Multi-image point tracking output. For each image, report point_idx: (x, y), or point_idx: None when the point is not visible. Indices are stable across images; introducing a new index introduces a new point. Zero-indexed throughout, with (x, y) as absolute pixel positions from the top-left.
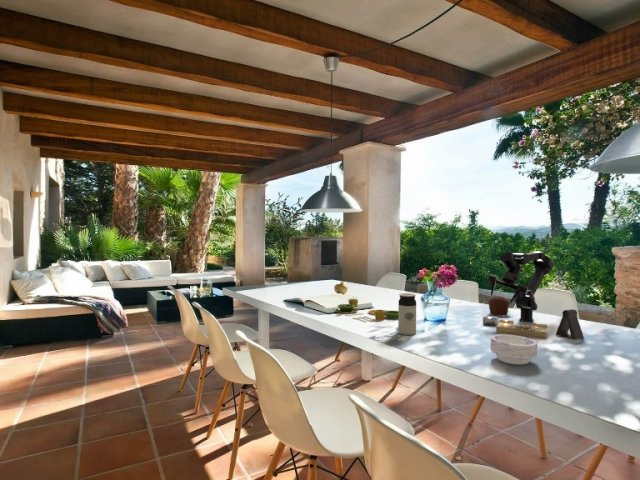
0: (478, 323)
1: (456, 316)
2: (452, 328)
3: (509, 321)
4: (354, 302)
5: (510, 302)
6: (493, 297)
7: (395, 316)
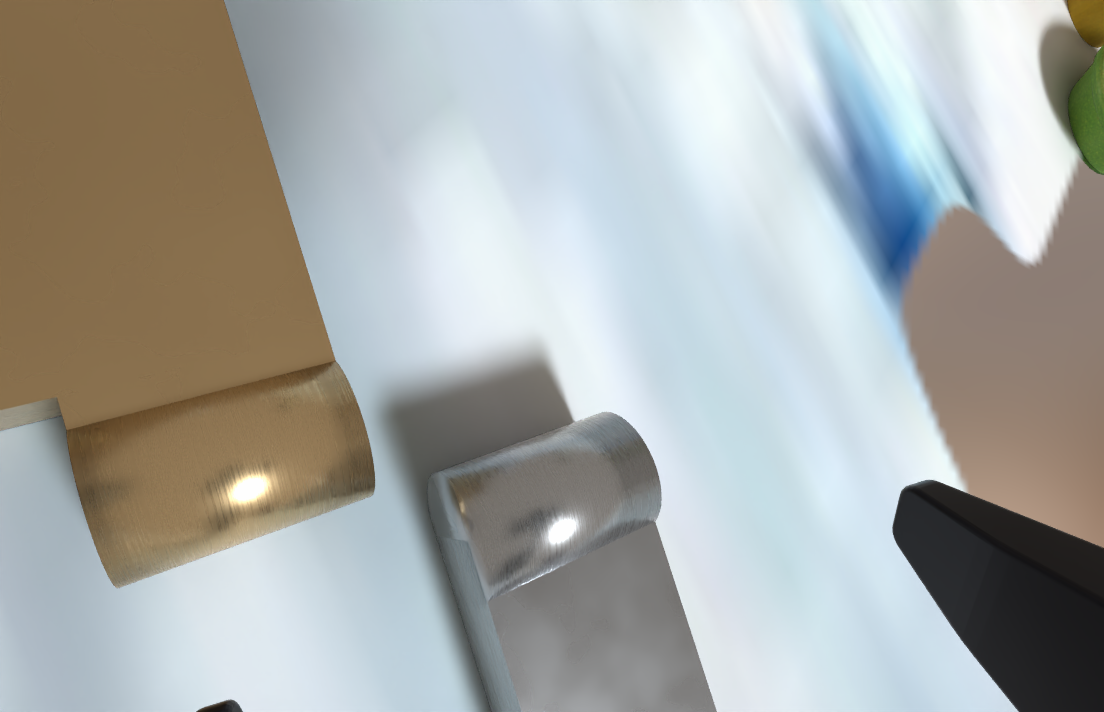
0: None
1: None
2: (679, 11)
3: (153, 439)
4: None
5: (211, 705)
6: None
7: (1086, 75)
